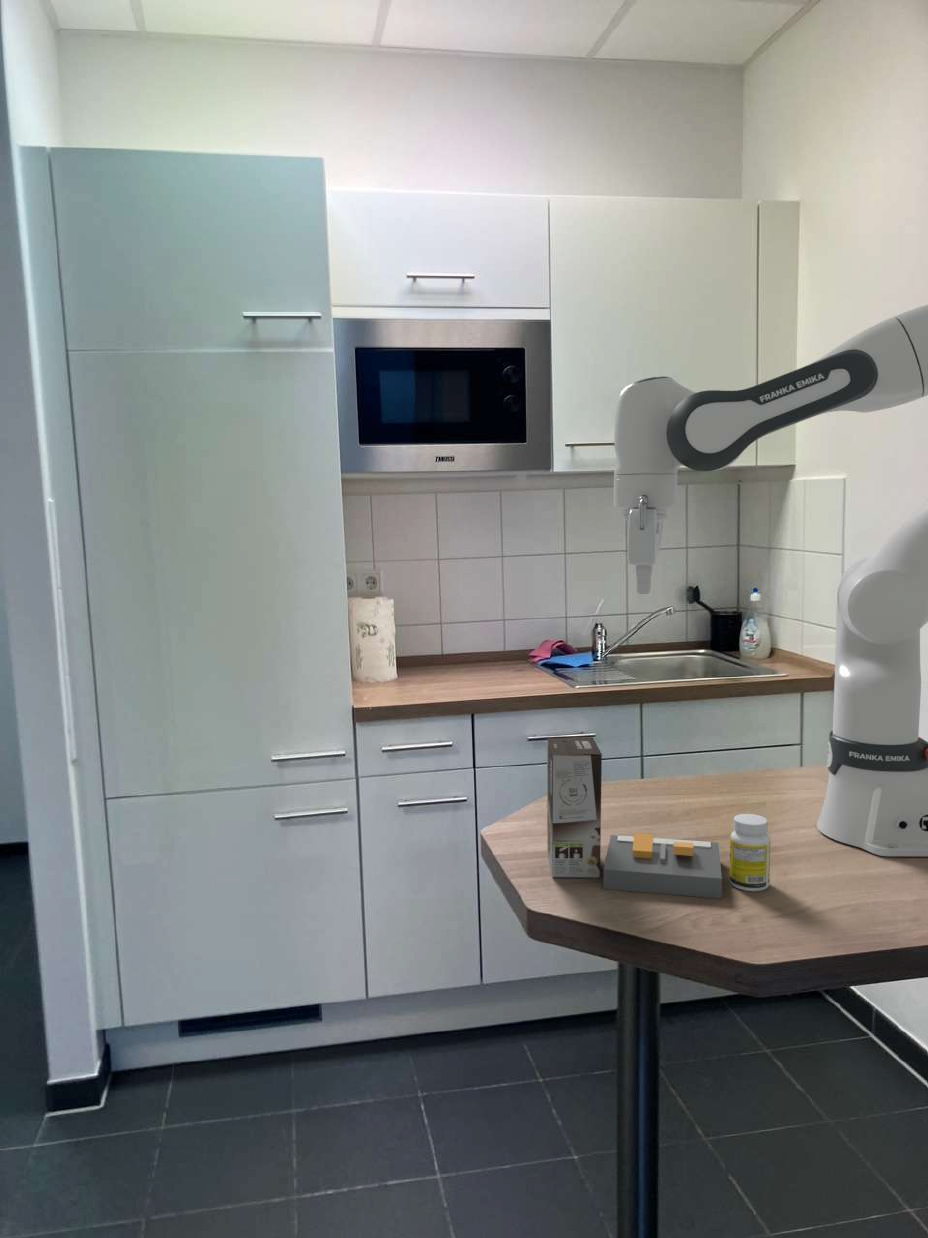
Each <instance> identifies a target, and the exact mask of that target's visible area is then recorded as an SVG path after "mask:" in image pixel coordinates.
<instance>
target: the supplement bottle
mask: <svg viewBox="0 0 928 1238" xmlns="http://www.w3.org/2000/svg"><path fill="white" fill-rule="evenodd" d="M768 821H769V820H768V819H767V818H766V817H764V816H762V815H758V814H752V813H740V814H737V815H735V816H734V817H733V823H732V824H733V825H732V827H733V831H732V832H731V833H730V839H729V841H730V844H729V849H730V850H729V852H730V853H729V882H730V884H731V886H733V887H734V888H737V889H739V890H742V891H747V892H761V891H764V890H767V889H768V888H769V886H770V882H771V881H770V877H771V876H770V875H771V874H770V873H771V872H770V870H771V869H770V868H771V837H770V835H769V834H768V830H769V829H768V827H769V826H768V825H769V824H768V823H769V822H768Z"/></svg>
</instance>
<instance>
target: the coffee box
mask: <svg viewBox="0 0 928 1238" xmlns="http://www.w3.org/2000/svg"><path fill="white" fill-rule="evenodd" d="M546 747H547V748H546V783H547V784H546V790H547V791H546V793H547V794H546V796H547V797H546V800H547V801H546V804H547V805H546V806H547V807H546V808H547V812H546V813H547V814H546V815H547V818H546V819H547V821H546V824H547V857H548V861H549V866H550V872H551V877H552V878H586V879H587V878H589V879H593V878H595V879H599V878H600V877H601V845H602V844H601V843H602V842H601V839H602V838H601V837H602V835H601V833H602V832H601V831H602V827H601V826H602V825H601V824H602V772H603V771H602V768H603V767H602V765H603V763H602V761H603V759H602V758H603V754H602V752H601V750H600V748H599V746H598V745H597V742H596V741H595V739H594V738H593V737H590V736H589V737H588V736H578V737H577V736H574V737H573V736H571V737H561V738H560V737H559V738H558V737H555V738H554V737H553V738H551V737H550V738H549V737H548V738H546Z"/></svg>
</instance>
